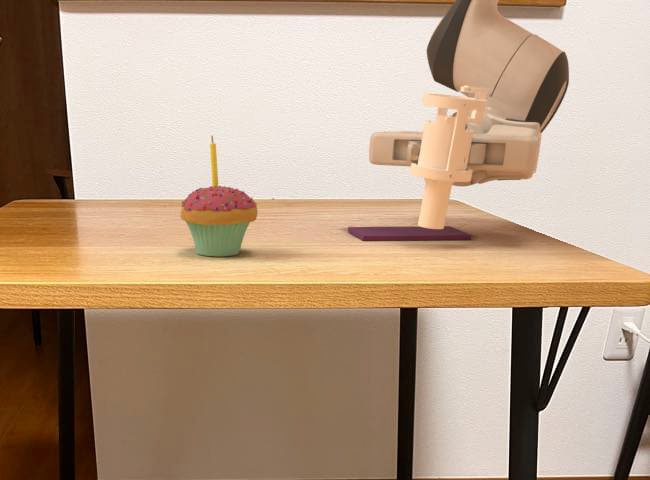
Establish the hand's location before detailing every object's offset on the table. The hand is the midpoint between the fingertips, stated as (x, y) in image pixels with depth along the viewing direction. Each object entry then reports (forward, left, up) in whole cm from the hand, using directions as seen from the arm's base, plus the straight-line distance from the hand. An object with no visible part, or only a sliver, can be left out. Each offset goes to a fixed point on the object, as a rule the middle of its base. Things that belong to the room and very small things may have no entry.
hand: (436, 154), depth 100 cm
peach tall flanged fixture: (0, -1, -8) cm, 8 cm away
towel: (+5, -8, -10) cm, 14 cm away
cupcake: (+19, +17, -10) cm, 27 cm away
